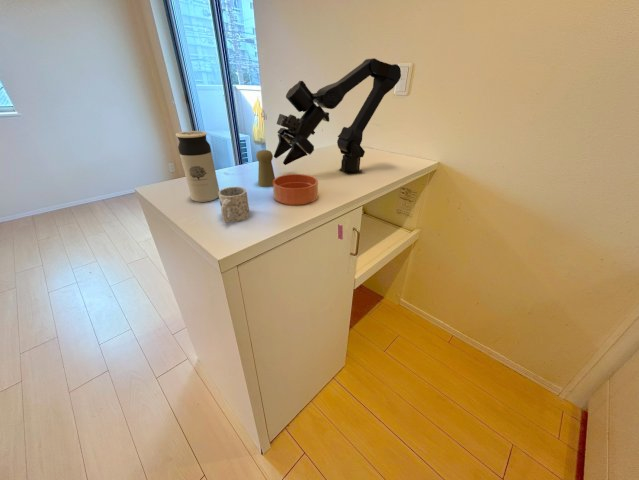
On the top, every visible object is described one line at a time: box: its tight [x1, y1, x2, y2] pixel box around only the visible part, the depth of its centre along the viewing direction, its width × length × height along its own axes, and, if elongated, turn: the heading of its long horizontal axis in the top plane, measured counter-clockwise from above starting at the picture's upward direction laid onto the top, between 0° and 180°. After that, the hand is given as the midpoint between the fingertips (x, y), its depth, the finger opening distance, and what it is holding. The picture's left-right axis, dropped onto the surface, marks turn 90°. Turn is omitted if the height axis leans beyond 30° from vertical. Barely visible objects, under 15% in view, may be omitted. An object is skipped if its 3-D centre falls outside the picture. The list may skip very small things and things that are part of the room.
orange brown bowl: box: [272, 173, 319, 206], centre depth 77 cm, size 13×13×5 cm
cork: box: [255, 149, 276, 188], centre depth 85 cm, size 6×6×11 cm
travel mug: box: [175, 130, 220, 203], centre depth 72 cm, size 8×8×18 cm
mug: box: [218, 186, 251, 224], centre depth 64 cm, size 10×7×7 cm, turn 174°
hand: (279, 160), depth 86 cm, fingers open, 9 cm apart
